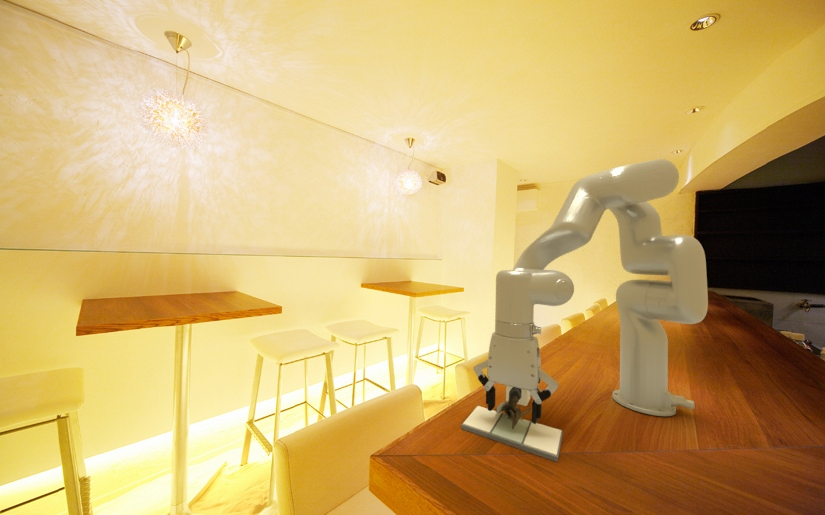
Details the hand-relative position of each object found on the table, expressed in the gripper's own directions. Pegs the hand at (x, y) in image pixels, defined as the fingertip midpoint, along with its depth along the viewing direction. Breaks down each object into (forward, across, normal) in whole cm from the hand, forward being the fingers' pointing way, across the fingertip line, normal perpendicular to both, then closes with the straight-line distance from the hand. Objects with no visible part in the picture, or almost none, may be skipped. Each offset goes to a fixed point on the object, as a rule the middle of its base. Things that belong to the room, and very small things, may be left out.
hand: (512, 413), depth 60 cm
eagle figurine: (+2, 0, -2) cm, 3 cm away
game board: (+4, 0, 0) cm, 4 cm away
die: (+4, +2, -16) cm, 16 cm away
